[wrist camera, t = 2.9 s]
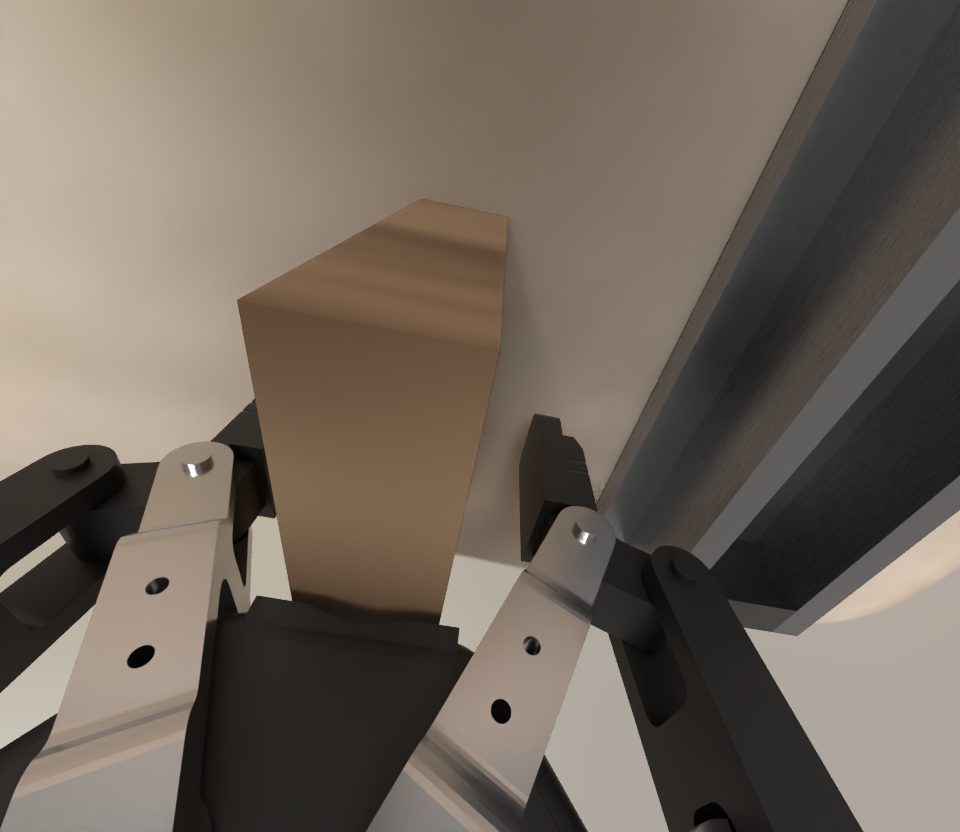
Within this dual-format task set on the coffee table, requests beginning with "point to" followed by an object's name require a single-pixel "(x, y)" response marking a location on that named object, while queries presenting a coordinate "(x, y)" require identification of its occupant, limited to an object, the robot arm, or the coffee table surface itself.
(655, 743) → the robot arm
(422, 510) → the door panel
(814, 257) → the bottom track
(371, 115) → the coffee table surface
